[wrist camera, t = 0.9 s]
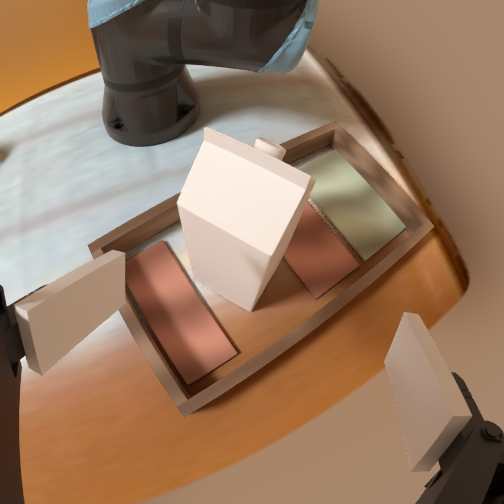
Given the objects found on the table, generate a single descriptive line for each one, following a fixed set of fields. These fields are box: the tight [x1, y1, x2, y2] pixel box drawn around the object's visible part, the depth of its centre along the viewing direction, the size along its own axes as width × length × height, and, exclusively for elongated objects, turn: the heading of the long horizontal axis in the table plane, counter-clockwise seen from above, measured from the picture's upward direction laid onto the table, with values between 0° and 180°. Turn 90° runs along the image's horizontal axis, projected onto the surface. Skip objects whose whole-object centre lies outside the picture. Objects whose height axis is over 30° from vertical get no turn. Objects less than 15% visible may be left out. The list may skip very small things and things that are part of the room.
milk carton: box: [177, 127, 316, 312], centre depth 26 cm, size 7×7×19 cm
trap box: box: [88, 122, 434, 417], centre depth 35 cm, size 20×36×4 cm, turn 125°
